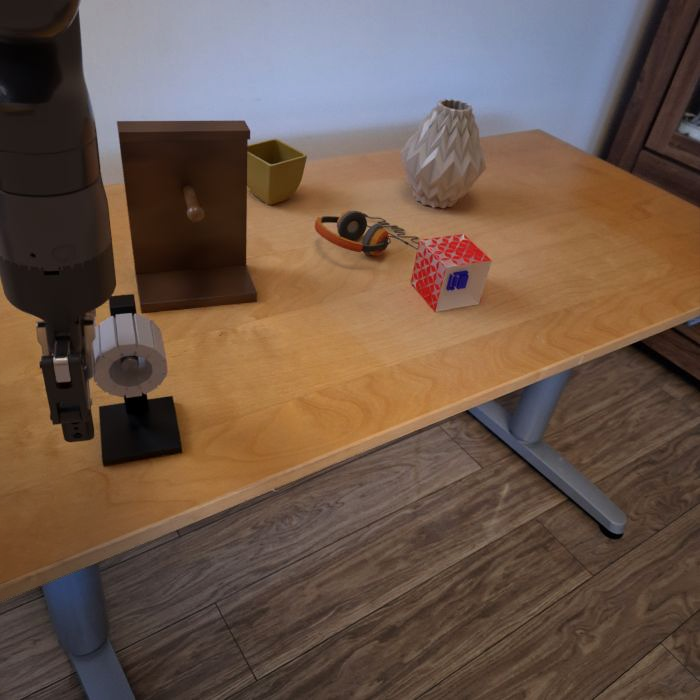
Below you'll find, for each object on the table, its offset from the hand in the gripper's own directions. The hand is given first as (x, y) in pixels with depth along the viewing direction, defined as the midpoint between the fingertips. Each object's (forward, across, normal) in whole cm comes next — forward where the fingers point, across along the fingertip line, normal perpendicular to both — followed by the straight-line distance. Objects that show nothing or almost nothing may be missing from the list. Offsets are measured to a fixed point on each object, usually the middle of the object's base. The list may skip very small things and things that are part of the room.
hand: (81, 401), depth 53 cm
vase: (+12, -60, +62) cm, 88 cm away
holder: (+13, -8, +4) cm, 16 cm away
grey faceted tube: (+1, -7, +4) cm, 8 cm away
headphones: (+13, -45, +43) cm, 63 cm away
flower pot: (+13, -63, +30) cm, 71 cm away
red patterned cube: (+12, -29, +50) cm, 59 cm away
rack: (+13, -35, +13) cm, 40 cm away
